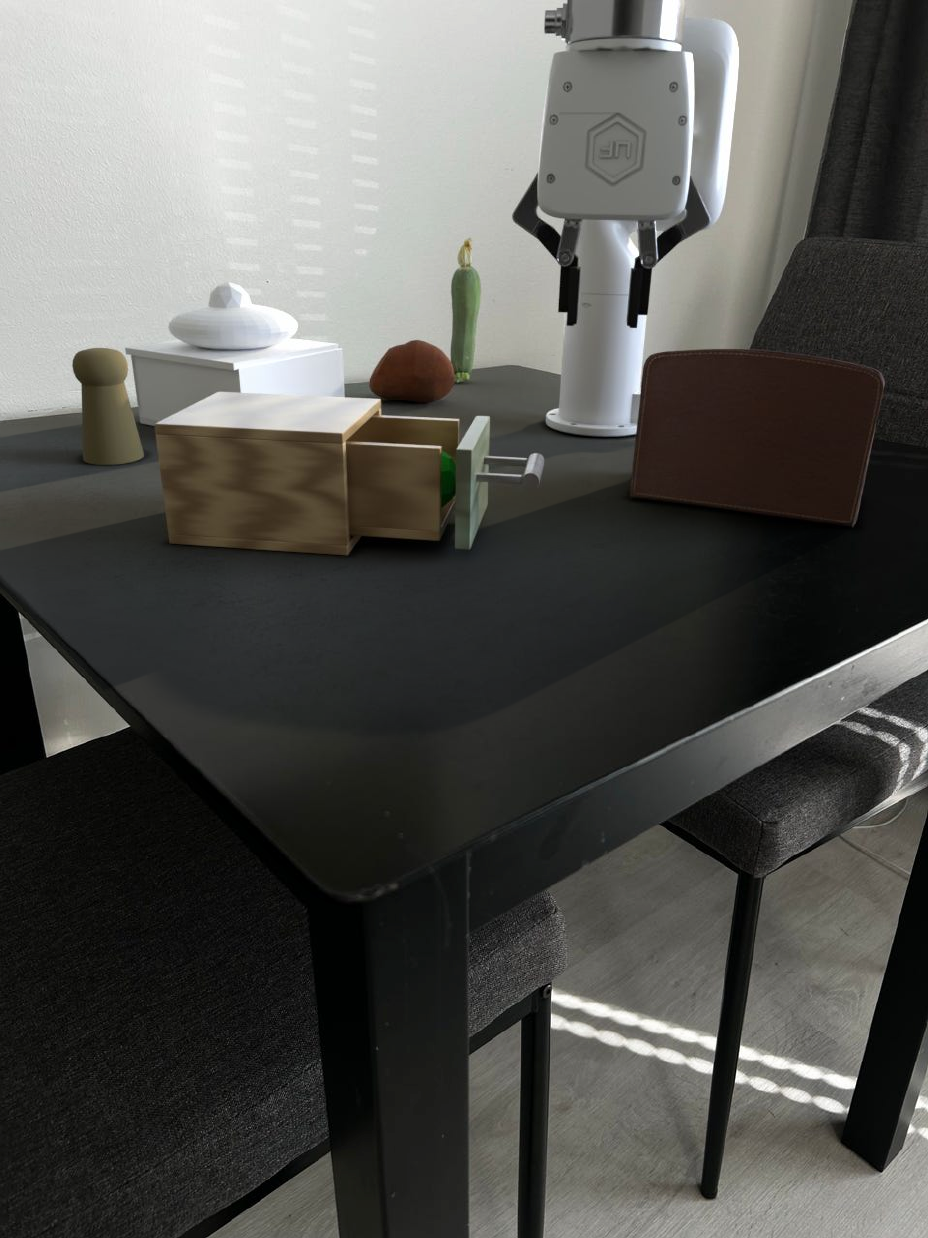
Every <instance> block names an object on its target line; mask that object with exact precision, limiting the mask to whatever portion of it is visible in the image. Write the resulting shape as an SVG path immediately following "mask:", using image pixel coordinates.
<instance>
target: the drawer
mask: <svg viewBox="0 0 928 1238" xmlns="http://www.w3.org/2000/svg"><path fill="white" fill-rule="evenodd" d="M490 431H491V416H489V415H475V417H474V419H473V421H472V423H471V424H470V426H469V427H468V429H467V431H466V432H465V434H464V435H463V438H462V439H461V441H460V418H448V417H447V418H445V417H424V416H404V415H403V416H402V415H385V414H381V415H373V416H372V417H371V418H370V419H369V420H368V421H367V422H365V423H364V424H363V425H362V426H361V427H360V428H359V429H358V430H357V431H356V432H355V433H354V434H353V435H352V436H351V437H349V438H348V439H347V440H346V441H345V442H346V463H347V488H348V513H349V535H355V536H361V537H371V538H388V539H403V540H420V541H433V542H434V541H435V542H439V541H440V540H441V539H442V537H443V534H444V532H445V530H446V528H447V526H448V524H449V522H450V520H451V518H452V516H453V513H454V549H455V550H471V548H472V546H473V543H474V540H475V538H476V535H477V533H478V530H479V528H480V525H481V522H482V520H483V518H484V515H485V512H486V510H487V508H488V503H489V483H495V484H510V485H511V484H512V485H521V486H522V488H524V489H525V490H526V491H535V490H536V489H538V488H539V486H540V483H541V479H542V475H543V471H544V467H545V457H544V456H543V455H542V454H541V453H538V452H534V453H531V454H530V455H529V456H528V458H527V457H514V456H495V455H494V456H493V455H490V434H491V433H490ZM442 451H444V452H445V453H447V454H448V455H449V456H451V457H452V458H453V460H454V462H455V464H456V494H455V495H454V497H453V498H452V500H451V501H449V502H448V503H447V504H446V505H445V506H444V507H441V457H442ZM490 466H502V467H503V466H506V467H522V468H523V467H524V470H523V474H512V473H511V474H510V473H495V472H494V473H493V472H492V473H491V472H489V470H490V469H489V467H490Z"/></svg>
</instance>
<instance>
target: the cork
mask: <svg viewBox="0 0 928 1238" xmlns="http://www.w3.org/2000/svg"><path fill="white" fill-rule="evenodd" d="M128 364H129V363H128V360H127V359H126V356H125V355H124V354H123V352H121V351H119V350H117V349H115V348H109V347H92V348H87V349H83V350H80V351H78V352H76V353H75V355H74V357H73V359H72V365H71V366H72V372H73V374H74V377H75V379H76V380H77V381H78V382H79V383H80V384H81V385H80V386H81V423H82V425H81V427H82V428H81V429H82V460H83V461H84V463H87V464H91V465H97V466H99V465H100V466H113V465H123V464H128V463H129V464H130V463H133V462H134V463H135V462H137V461H139V460H141V459H143V458H144V457H145V452H144V450H143V449H144V448H143V445H142V441H141V439H140V435H139V431H138V428H137V424H136V420H135V416H134V413H133V409H132V405H131V401H130V398H129V394H128V390H127V387H126V383H125V381H126V379H127V377H128V375H129V373H128V372H129V365H128Z"/></svg>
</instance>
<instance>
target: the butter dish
mask: <svg viewBox="0 0 928 1238" xmlns="http://www.w3.org/2000/svg"><path fill="white" fill-rule="evenodd" d="M208 300H209V301H208V305H202V306H197V307H194V308H191V309H188V310H185V311H183V312H181V313H179V314H177V315H176V316H174V317H173V318H172V319H171V320H170V321H169V322H168V331H169V334H171V336H172V337H174V338H175V340H174V339H173V340H168V341H160V342H155V343H148V344H140V345H134V346H127V347H124V350H125V355H128V356H130V359H131V365H132V373H133V374H132V375H133V380H134V386H135V395H136V402H137V411H138V417H139V424H143V425H149V426H153V427H155V426H154V424H155V423H157V422H159V421H161V420H163V419H165V418H167V417H169V416H171V415H173V414H175V413H177V412H179V411H181V410H183V409H185V408H187V407H189V406H191V405H193V404H195V403H197V402H199V401H201V400H203V399H205V398H207V397H209V396H211V395H213V394H215V393H217V392H238V393H259V394H281V395H303V396H325V397H346V394H345V393H346V392H345V367H344V348H339V343H335V342H326V341H318V340H317V341H316V340H310V339H302V338H293V337H294V335H295V334H296V333H297V331H298V327H299V324H298V321H297V319H295V318H294V317H293V316H292V315H290V314H289V313H287V312H285V311H283V310H280V309H277V308H274V307H271V306H265V305H261V304H253V303H252V300H251V298H250V295H249V293H248V292H247V291H246V290H245V288H243V287H242V286H241V285H240V284H237V283H233V282H230V281H227V282H224V283H220V284H219V285H217V286H216V287H215V288H213V290H212V291H210V294H209V299H208Z"/></svg>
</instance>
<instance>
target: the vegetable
mask: <svg viewBox="0 0 928 1238" xmlns="http://www.w3.org/2000/svg"><path fill="white" fill-rule="evenodd" d="M471 242H472V238H471V237H469V238H465V240H464V241H463V245H461V246H460V248H459V251H458V253H457V264H458V265H459V267H458V268H457V269H456V270H455V271H454V273H453V275H452V278H451V284H450V296H451V311H452V312H451V313H452V326H451V341H450V361H451V363H452V365H453V370H454V376H455V378H454V380H455V382H456V383H459V382H462V383H465V382H467V381H469V380H470V374H471V373H472V370H473V367H474V359H475V358H474V357H475V349H476V335H477V324H478V323H477V322H478V315H479V311H480V308H481V299H482V298H481V297H482V283H481V282H482V281H481V278H480V274H479V272H478V271H477V270H476V269H475V268H474V267H473V266H471V265H472V264H473V255H472V250H473V248H472V243H471Z"/></svg>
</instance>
